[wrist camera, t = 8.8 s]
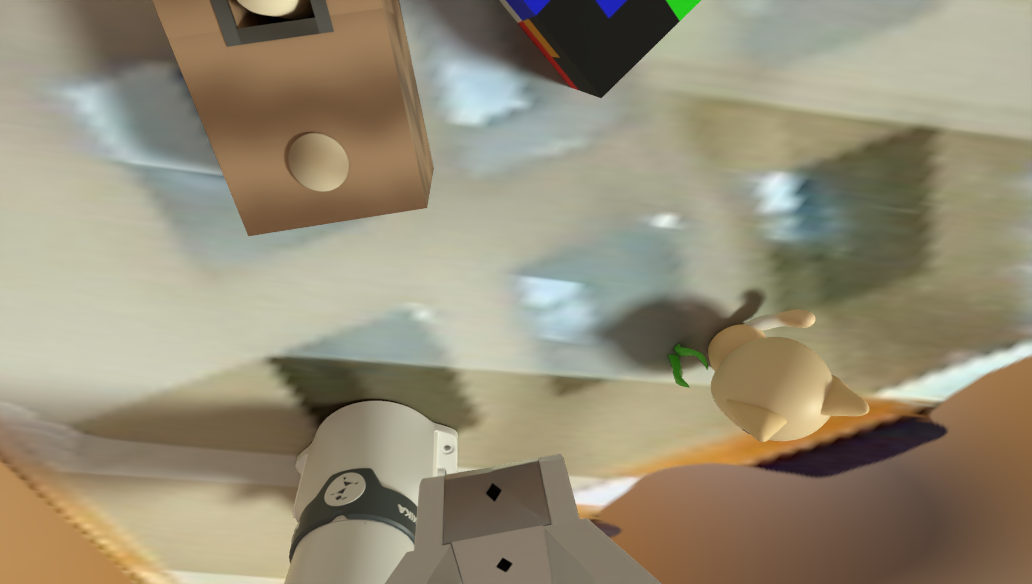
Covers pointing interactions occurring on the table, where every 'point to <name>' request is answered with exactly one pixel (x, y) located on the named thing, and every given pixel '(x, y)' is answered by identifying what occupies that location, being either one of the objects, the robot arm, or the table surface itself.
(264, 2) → the peg
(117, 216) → the table surface
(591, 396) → the table surface
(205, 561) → the table surface
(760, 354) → the kitten
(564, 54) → the puzzle toy
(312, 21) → the walnut block
